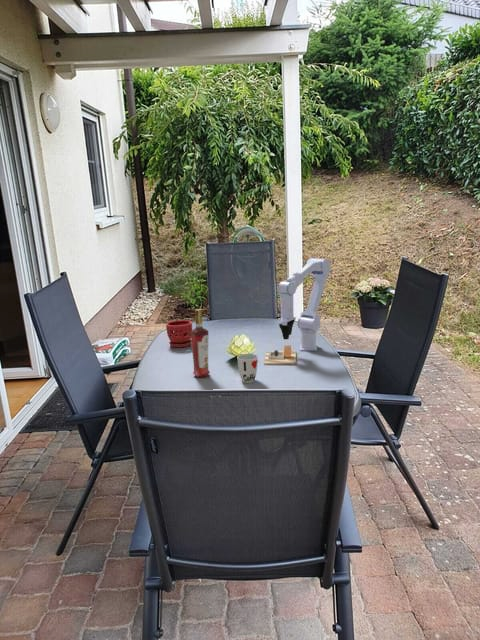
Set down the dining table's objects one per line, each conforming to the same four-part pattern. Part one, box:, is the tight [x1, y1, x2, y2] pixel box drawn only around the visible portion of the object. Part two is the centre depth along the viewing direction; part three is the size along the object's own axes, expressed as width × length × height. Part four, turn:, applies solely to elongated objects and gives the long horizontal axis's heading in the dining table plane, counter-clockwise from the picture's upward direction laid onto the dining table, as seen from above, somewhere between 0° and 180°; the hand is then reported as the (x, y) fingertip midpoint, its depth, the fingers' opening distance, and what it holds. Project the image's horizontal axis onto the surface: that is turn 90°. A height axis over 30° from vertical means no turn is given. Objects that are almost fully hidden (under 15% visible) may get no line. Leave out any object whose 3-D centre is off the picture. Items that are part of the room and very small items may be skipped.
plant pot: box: [165, 320, 193, 348], centre depth 242 cm, size 13×13×12 cm
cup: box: [236, 353, 259, 384], centre depth 189 cm, size 8×8×10 cm
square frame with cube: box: [268, 344, 292, 359], centre depth 217 cm, size 10×7×5 cm
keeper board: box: [263, 349, 297, 366], centre depth 217 cm, size 18×14×4 cm
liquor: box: [190, 308, 211, 378], centre depth 195 cm, size 7×7×28 cm
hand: (287, 336), depth 218 cm, fingers open, 7 cm apart
